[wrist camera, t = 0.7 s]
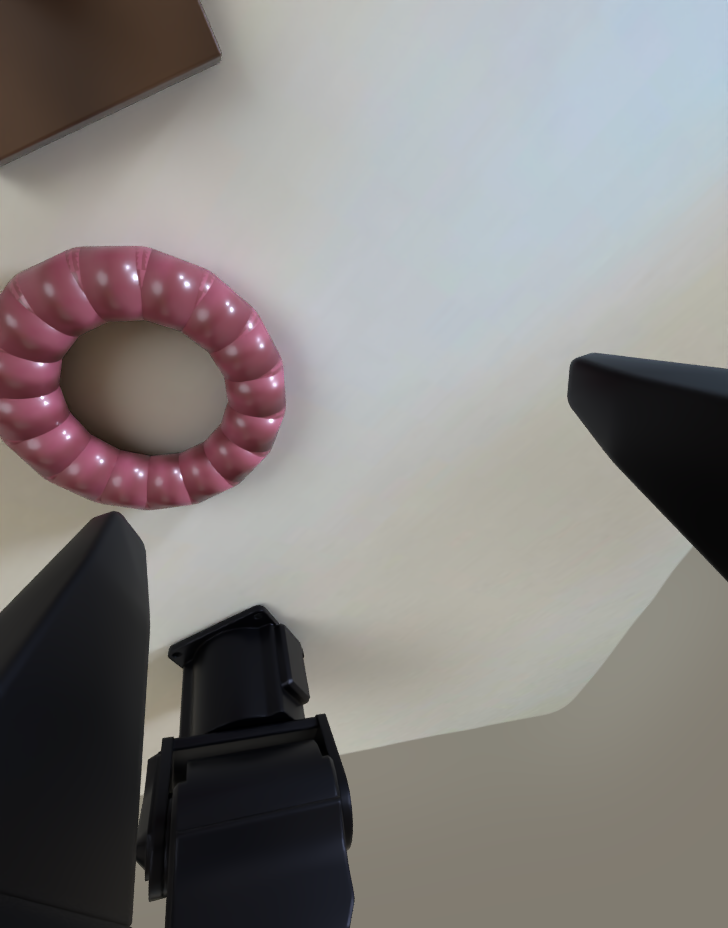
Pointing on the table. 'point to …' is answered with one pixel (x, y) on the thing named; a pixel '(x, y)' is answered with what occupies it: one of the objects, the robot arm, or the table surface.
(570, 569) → the table surface
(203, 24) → the stand
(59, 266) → the ring
